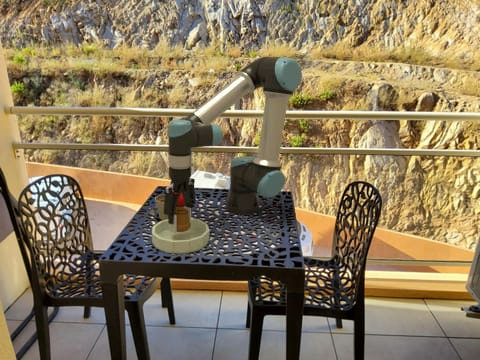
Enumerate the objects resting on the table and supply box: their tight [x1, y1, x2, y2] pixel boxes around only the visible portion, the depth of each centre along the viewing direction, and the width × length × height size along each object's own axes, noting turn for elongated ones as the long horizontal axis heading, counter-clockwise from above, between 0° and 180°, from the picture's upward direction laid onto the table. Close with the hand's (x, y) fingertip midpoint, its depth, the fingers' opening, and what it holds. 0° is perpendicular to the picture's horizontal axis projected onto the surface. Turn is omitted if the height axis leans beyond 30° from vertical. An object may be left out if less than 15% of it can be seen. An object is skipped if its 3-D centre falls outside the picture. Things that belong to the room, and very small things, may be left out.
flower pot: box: [154, 193, 172, 221], centre depth 157 cm, size 9×9×9 cm
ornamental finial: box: [175, 206, 191, 232], centre depth 137 cm, size 8×8×8 cm
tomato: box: [174, 192, 192, 207], centre depth 174 cm, size 10×11×6 cm
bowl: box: [151, 217, 210, 255], centre depth 139 cm, size 20×20×4 cm
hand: (180, 227), depth 138 cm, fingers closed on ornamental finial, 7 cm apart
